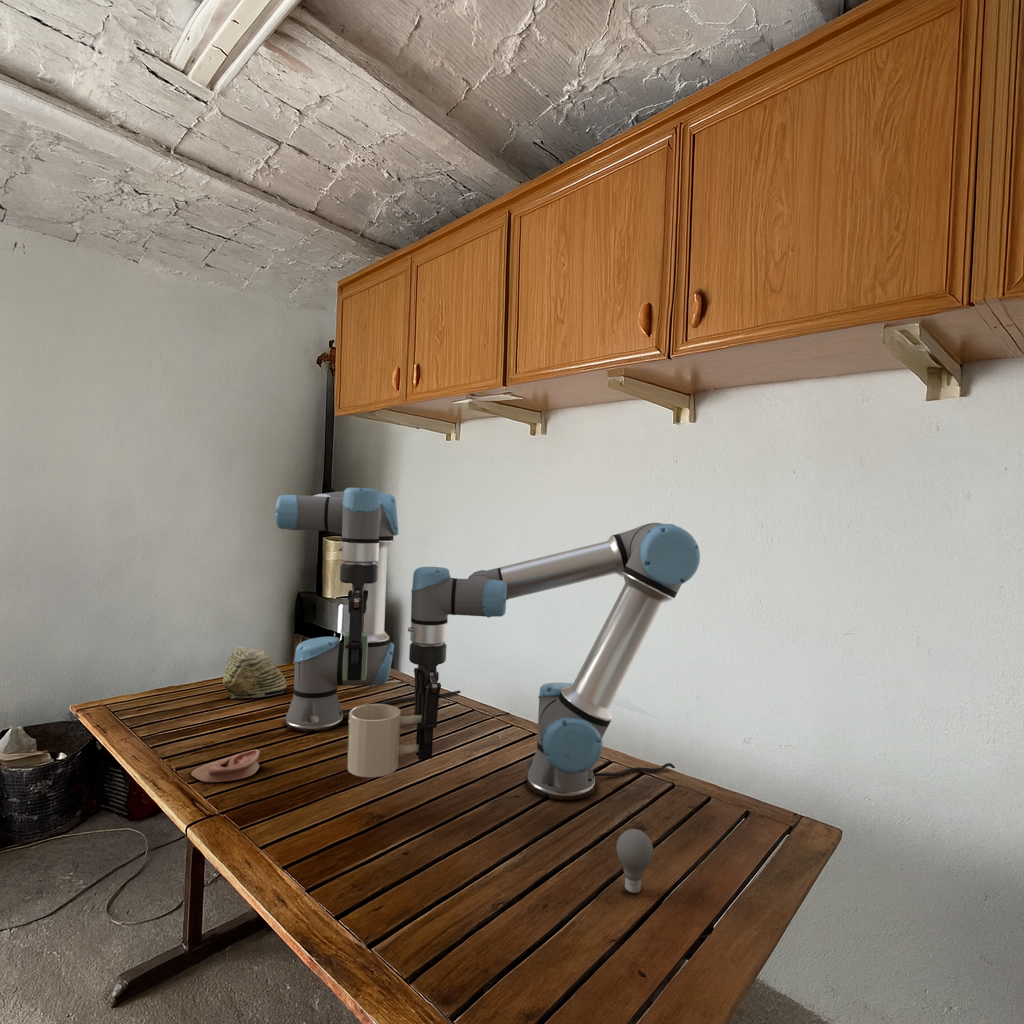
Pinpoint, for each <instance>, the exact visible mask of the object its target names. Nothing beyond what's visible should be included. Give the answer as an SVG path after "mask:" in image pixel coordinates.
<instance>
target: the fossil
mask: <svg viewBox="0 0 1024 1024" xmlns="http://www.w3.org/2000/svg"><path fill="white" fill-rule="evenodd" d="M222 676H223V677H222V685H223V687H224V688H225V690H226V691H228V693H229V698H230V699H250V698H264V697H271V696H275V695H281V694H284V693H285V691H286V689H287V687H288V686H287V680H286V678H285V676H284V674H283V673H282V672H281V669H279V668H278V667H277V665H276V663H275V662H274V660H273V659H272V658H271V657H270V656H269V655H268V654H267V653H266V652H265V650H264V649H263V648H260V647H258V648H251V647H247V646H246V647H245V646H238V647H237V648H236V649H235V650H233V651H232V653H231V656H230V657H229V659H228V660H227V663H226V666H225V668H224V671H223V675H222Z"/></svg>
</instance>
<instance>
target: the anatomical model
mask: <svg viewBox="0 0 1024 1024" xmlns="http://www.w3.org/2000/svg"><path fill="white" fill-rule="evenodd" d="M260 754H261V752H260V749H257V748H256V749H251V750H247V751H243V752H240V753H236V754H234V755H231V756H228V757H225V758H222V759H219V760H216V761H211V762H209V763H206V764H204V765H201V766H198V767H197V768H195V769H193V770H192V771H191V773H190V775H191V776H192V777H193V778H194V779H196V780H198V781H201V782H203V783H221V782H230V781H231V782H233V781H237V780H241V779H246V778H248V777H250V776H253V775H254V774H256V772H257V771H258V770H259V768H260V764H259V762H258V759H259V757H260Z"/></svg>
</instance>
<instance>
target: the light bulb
mask: <svg viewBox="0 0 1024 1024" xmlns="http://www.w3.org/2000/svg"><path fill="white" fill-rule="evenodd" d="M615 849H616V854H617V857H618V859H619V861H620V863H621V865H622V867H623V873H624V874H623V875H624V876H625V878H624V888H625V890H627V891H628V892H630V893H634V894H635V893H639V892H640V891H641V889H642V887H641V886H642V879H643V877H644V875H645V871H646V868H647V867H648V866H649V864H650V863H651V861H652V859H653V855H654V847H653V843H652V841H651V838H649V836H648V835H647V834H646V833H645V832H643V831H642V830H641V829H636V828H629V829H627V830H625V831H623V832H622V833H621V834H620V835H619V837H618V839H617V841H616V847H615Z"/></svg>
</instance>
